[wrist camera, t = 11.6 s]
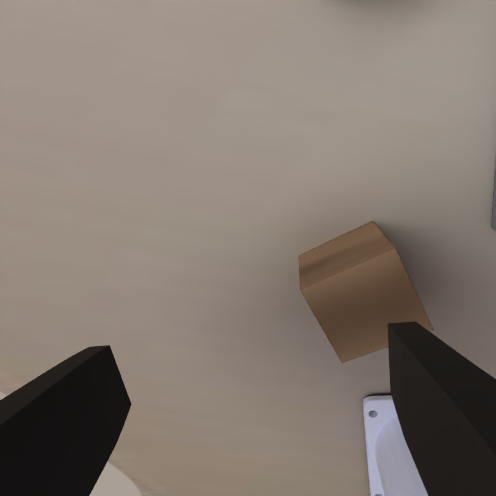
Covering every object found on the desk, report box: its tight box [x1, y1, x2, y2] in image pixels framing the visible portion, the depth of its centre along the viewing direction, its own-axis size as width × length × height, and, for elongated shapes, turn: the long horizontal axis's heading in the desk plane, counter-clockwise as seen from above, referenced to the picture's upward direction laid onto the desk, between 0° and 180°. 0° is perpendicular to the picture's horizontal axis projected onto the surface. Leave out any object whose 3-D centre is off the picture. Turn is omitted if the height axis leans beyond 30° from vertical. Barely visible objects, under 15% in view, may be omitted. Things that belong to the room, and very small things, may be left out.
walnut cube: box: [299, 221, 434, 363], centre depth 15 cm, size 4×4×4 cm
